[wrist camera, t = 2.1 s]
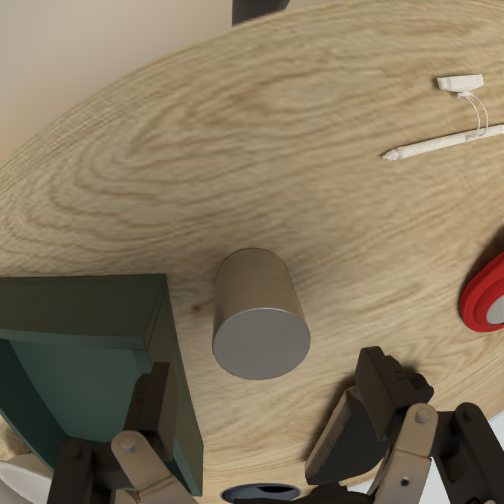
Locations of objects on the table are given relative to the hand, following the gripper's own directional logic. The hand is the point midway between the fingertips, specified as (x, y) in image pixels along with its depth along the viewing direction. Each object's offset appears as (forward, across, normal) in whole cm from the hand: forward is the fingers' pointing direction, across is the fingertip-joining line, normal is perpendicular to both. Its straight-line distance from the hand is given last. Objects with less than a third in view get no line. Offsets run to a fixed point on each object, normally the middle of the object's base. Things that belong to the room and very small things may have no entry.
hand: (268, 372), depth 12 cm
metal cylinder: (+7, 0, 0) cm, 7 cm away
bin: (+7, +13, +9) cm, 17 cm away
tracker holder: (+8, -22, +3) cm, 23 cm away
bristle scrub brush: (+8, -10, +17) cm, 21 cm away
